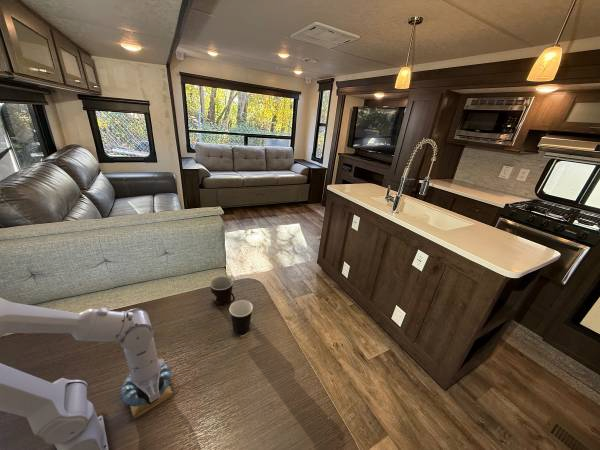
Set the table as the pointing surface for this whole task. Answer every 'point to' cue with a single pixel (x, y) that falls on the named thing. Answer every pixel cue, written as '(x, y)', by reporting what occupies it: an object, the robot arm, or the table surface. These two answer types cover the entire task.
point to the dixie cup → (241, 316)
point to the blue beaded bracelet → (129, 388)
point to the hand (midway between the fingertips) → (151, 394)
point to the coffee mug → (222, 290)
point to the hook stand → (143, 408)
